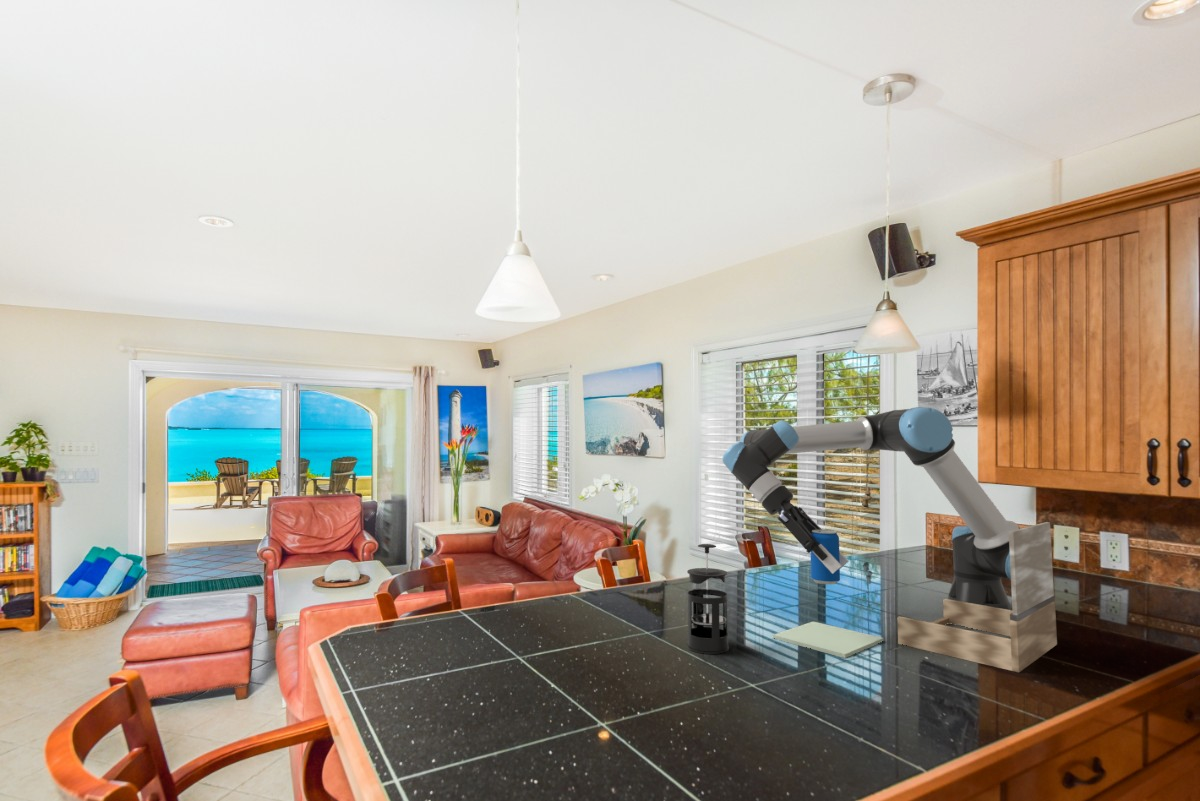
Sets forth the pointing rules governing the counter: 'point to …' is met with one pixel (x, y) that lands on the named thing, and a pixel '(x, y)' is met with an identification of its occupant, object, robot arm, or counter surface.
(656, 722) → the counter surface
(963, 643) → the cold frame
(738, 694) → the counter surface
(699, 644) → the french press
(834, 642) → the mat
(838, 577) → the beverage can
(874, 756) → the counter surface
